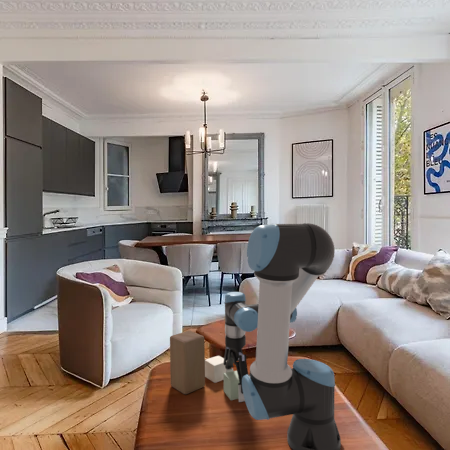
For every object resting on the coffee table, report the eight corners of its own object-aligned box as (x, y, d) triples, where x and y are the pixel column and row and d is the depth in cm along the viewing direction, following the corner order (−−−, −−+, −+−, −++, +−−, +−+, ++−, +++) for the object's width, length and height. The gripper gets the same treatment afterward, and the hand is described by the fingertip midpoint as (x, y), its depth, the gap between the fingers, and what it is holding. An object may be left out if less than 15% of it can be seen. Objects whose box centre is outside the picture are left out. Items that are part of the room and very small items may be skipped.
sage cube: (248, 396, 131) (248, 377, 131) (230, 400, 129) (230, 381, 128) (240, 387, 138) (240, 369, 137) (223, 391, 135) (223, 373, 135)
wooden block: (190, 378, 146) (189, 329, 145) (206, 386, 138) (205, 335, 138) (169, 386, 139) (168, 335, 138) (185, 396, 132) (184, 342, 131)
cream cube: (228, 378, 146) (228, 361, 145) (214, 383, 141) (214, 365, 141) (218, 371, 151) (218, 355, 151) (204, 376, 147) (204, 359, 147)
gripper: (259, 344, 123) (259, 407, 124) (232, 323, 144) (232, 377, 145) (239, 347, 120) (239, 411, 121) (214, 326, 142) (215, 380, 143)
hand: (235, 393), depth 133 cm, fingers open, 11 cm apart
